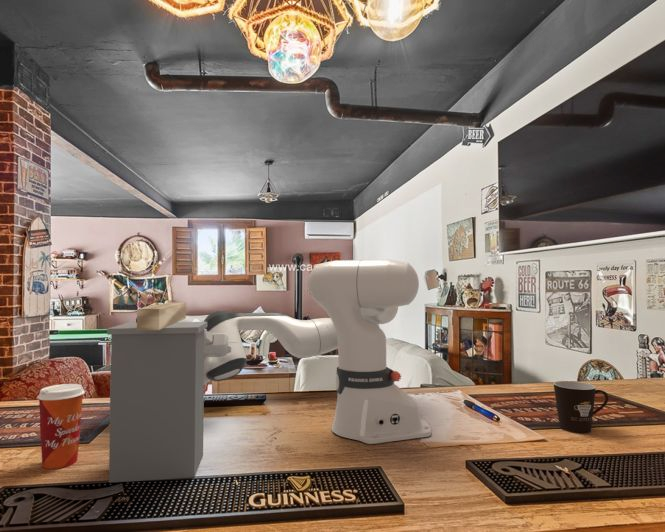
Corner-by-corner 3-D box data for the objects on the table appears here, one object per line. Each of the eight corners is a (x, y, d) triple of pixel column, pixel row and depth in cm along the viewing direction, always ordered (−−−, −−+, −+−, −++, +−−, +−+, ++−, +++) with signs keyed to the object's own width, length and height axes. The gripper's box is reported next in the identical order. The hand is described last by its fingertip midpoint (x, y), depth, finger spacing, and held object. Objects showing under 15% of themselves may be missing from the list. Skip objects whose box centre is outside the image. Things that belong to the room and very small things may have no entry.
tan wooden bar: (185, 318, 95) (185, 302, 95) (159, 330, 73) (159, 308, 73) (168, 318, 95) (169, 302, 95) (136, 330, 72) (137, 308, 72)
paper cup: (48, 475, 77) (50, 394, 78) (27, 465, 81) (29, 389, 82) (92, 460, 84) (94, 385, 84) (71, 451, 88) (72, 381, 88)
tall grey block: (206, 453, 87) (207, 321, 88) (196, 478, 76) (198, 327, 77) (126, 458, 85) (128, 322, 86) (104, 484, 74) (107, 328, 75)
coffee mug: (555, 432, 99) (555, 387, 99) (552, 421, 107) (551, 379, 107) (616, 439, 95) (615, 392, 95) (608, 427, 103) (607, 383, 103)
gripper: (231, 364, 112) (226, 344, 101) (147, 366, 110) (132, 345, 98) (232, 341, 116) (228, 319, 104) (151, 343, 113) (137, 320, 101)
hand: (181, 332), depth 101 cm, fingers open, 8 cm apart
